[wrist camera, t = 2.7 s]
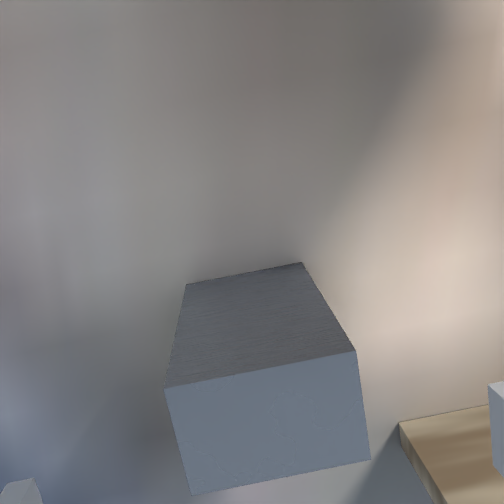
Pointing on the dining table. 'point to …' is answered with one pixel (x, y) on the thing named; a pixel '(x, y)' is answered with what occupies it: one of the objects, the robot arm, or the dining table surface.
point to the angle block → (262, 381)
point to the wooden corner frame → (454, 456)
